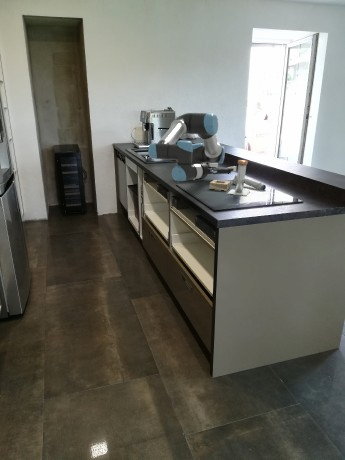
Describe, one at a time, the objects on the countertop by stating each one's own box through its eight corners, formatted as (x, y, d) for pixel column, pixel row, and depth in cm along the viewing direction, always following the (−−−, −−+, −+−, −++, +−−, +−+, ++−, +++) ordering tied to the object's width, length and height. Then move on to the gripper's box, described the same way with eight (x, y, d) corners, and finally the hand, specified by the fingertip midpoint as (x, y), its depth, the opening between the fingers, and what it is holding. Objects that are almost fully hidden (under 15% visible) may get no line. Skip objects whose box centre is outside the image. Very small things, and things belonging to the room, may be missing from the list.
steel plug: (235, 190, 206) (239, 159, 200) (244, 191, 204) (248, 160, 198) (233, 192, 201) (237, 160, 195) (242, 193, 200) (246, 161, 193)
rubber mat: (231, 190, 209) (231, 189, 209) (249, 192, 206) (249, 191, 206) (227, 194, 200) (227, 193, 200) (246, 196, 196) (246, 195, 196)
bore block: (213, 186, 220) (214, 179, 219) (230, 187, 217) (230, 181, 215) (209, 189, 211) (209, 182, 210) (226, 191, 207) (227, 184, 206)
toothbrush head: (261, 185, 208) (232, 173, 225) (259, 195, 210) (230, 182, 228) (267, 184, 211) (237, 172, 228) (264, 194, 213) (235, 182, 231)
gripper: (182, 174, 190) (210, 170, 202) (215, 182, 172) (243, 177, 184) (182, 160, 187) (210, 157, 200) (216, 167, 169) (244, 163, 182)
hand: (226, 166), depth 192 cm, fingers open, 13 cm apart
